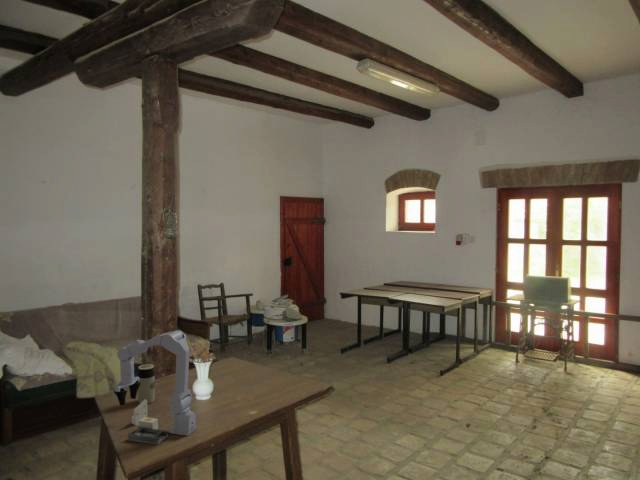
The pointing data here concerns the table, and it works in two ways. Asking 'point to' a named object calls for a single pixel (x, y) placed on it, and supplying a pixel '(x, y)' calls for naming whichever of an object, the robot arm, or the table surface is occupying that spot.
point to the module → (148, 423)
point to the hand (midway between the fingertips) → (127, 401)
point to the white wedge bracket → (139, 412)
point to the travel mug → (146, 383)
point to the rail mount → (148, 435)
